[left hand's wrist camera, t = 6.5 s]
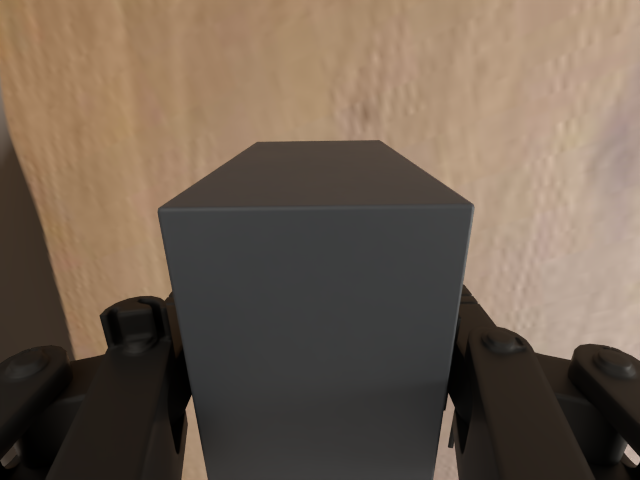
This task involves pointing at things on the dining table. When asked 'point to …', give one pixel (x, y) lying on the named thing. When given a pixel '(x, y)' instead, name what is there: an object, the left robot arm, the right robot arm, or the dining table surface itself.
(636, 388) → the left robot arm
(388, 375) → the post
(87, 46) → the dining table surface
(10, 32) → the dining table surface
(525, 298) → the dining table surface
